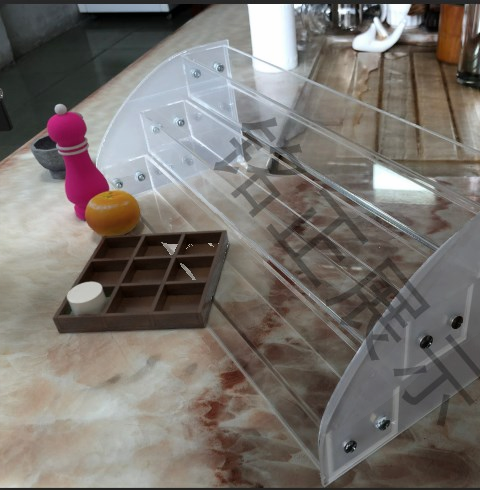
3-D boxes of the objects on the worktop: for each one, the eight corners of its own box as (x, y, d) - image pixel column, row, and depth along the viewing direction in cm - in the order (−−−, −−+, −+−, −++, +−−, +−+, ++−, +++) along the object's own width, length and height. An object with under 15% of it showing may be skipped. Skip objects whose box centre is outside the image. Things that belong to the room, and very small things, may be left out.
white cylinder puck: (68, 322, 80) (61, 303, 78) (81, 300, 84) (74, 282, 82) (102, 320, 79) (95, 302, 78) (113, 299, 83) (106, 280, 81)
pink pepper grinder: (99, 224, 102) (62, 113, 91) (65, 219, 105) (25, 111, 94) (123, 203, 108) (91, 97, 97) (90, 199, 110) (55, 95, 99)
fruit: (149, 194, 103) (114, 170, 97) (150, 233, 98) (113, 210, 92) (113, 215, 105) (76, 193, 99) (112, 254, 100) (74, 233, 94)
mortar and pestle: (39, 187, 116) (17, 129, 110) (43, 167, 124) (22, 112, 117) (98, 175, 119) (80, 118, 112) (98, 156, 126) (81, 102, 120)
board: (58, 332, 79) (52, 318, 78) (108, 249, 96) (103, 235, 94) (204, 327, 78) (200, 312, 76) (229, 243, 94) (226, 229, 93)
